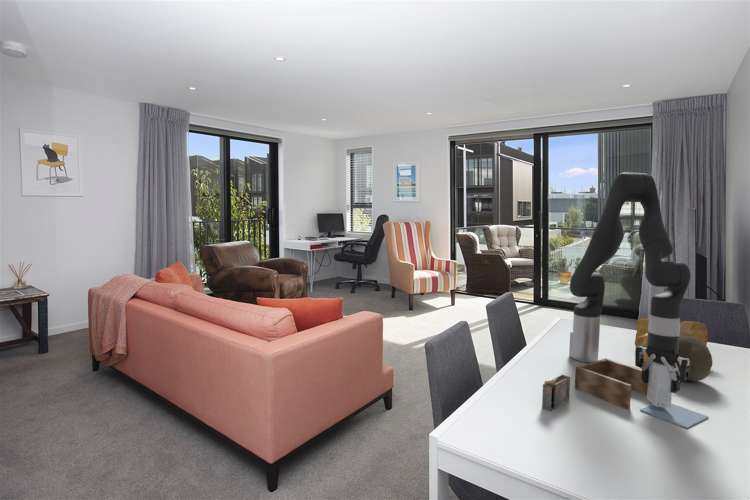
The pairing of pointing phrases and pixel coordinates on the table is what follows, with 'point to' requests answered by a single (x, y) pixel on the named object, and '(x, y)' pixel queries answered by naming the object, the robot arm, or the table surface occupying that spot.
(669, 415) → the mat
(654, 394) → the skincare box
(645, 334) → the figurine
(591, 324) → the robot arm
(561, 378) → the brown upright block
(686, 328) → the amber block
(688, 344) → the brown rock
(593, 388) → the open side box
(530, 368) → the table surface
